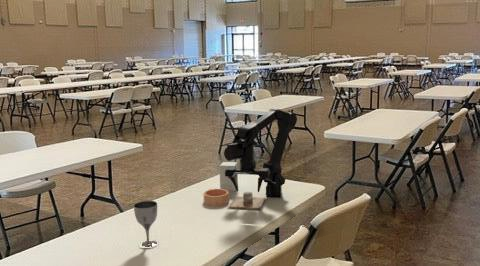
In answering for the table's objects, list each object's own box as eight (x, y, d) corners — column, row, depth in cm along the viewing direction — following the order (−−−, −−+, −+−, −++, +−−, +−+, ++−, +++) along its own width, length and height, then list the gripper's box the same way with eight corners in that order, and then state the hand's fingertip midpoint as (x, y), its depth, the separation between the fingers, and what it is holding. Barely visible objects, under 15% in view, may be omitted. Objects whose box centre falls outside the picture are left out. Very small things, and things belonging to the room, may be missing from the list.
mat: (268, 200, 207) (268, 198, 207) (262, 212, 192) (262, 210, 192) (235, 198, 210) (235, 197, 210) (227, 210, 196) (226, 208, 196)
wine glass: (138, 240, 168) (135, 201, 165) (160, 239, 168) (158, 199, 166) (135, 250, 160) (132, 209, 157) (158, 248, 161) (156, 207, 158)
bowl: (231, 198, 209) (231, 189, 209) (225, 207, 199) (224, 197, 198) (208, 197, 212) (207, 188, 211) (201, 206, 202) (200, 196, 201)
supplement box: (235, 191, 219) (234, 166, 217) (219, 191, 221) (218, 165, 218) (238, 187, 226) (237, 161, 224) (223, 186, 228) (222, 161, 225)
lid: (265, 199, 206) (265, 189, 205) (260, 209, 194) (259, 199, 193) (236, 198, 209) (236, 187, 208) (229, 208, 196) (229, 197, 195)
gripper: (271, 152, 203) (272, 186, 206) (230, 151, 207) (231, 184, 210) (267, 158, 192) (268, 194, 195) (223, 157, 196) (225, 192, 199)
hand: (248, 191), depth 200 cm, fingers open, 9 cm apart
